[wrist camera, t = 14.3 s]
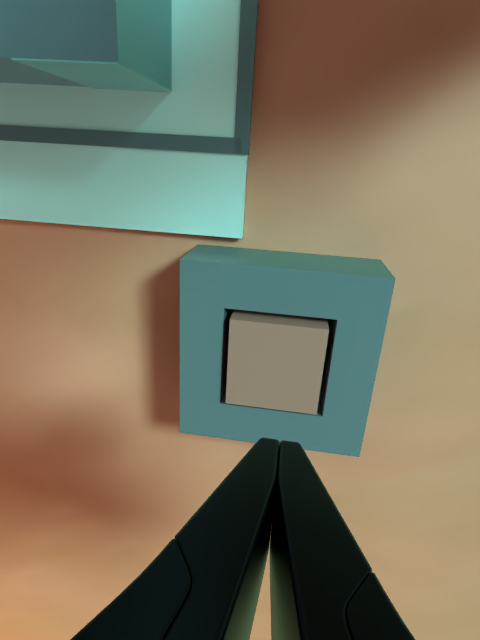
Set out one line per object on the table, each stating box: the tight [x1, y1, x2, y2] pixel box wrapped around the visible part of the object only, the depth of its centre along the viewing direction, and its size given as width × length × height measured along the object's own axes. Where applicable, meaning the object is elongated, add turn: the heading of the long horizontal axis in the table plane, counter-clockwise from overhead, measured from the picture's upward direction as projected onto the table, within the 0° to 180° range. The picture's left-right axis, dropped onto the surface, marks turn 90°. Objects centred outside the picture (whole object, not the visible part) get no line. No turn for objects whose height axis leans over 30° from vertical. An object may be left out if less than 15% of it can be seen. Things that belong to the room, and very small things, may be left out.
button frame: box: [179, 245, 395, 457], centre depth 18 cm, size 8×8×3 cm
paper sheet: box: [0, 0, 258, 239], centre depth 16 cm, size 20×15×1 cm
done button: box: [226, 309, 329, 415], centre depth 18 cm, size 4×4×3 cm
